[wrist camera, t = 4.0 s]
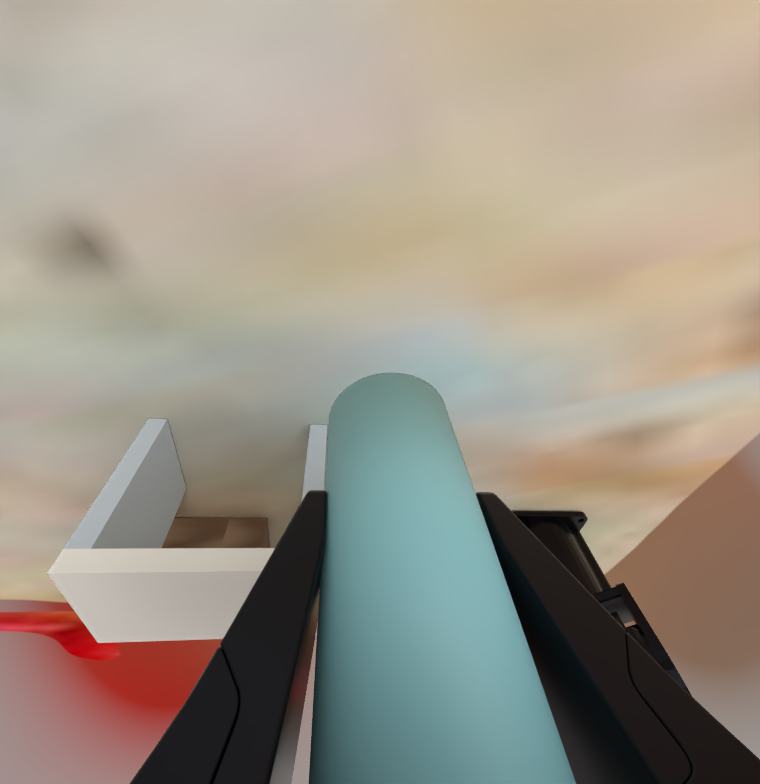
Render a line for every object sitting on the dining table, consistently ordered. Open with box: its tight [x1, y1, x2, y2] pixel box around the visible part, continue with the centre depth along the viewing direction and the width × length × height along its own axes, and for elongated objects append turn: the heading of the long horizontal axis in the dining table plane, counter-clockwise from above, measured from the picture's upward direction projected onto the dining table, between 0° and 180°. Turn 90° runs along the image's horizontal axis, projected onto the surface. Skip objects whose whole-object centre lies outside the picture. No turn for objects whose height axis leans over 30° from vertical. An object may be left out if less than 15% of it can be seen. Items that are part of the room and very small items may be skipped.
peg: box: [309, 373, 576, 784], centre depth 8 cm, size 3×3×8 cm
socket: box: [162, 518, 270, 548], centre depth 28 cm, size 10×10×4 cm
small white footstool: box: [47, 419, 327, 643], centre depth 20 cm, size 10×6×9 cm, turn 84°
